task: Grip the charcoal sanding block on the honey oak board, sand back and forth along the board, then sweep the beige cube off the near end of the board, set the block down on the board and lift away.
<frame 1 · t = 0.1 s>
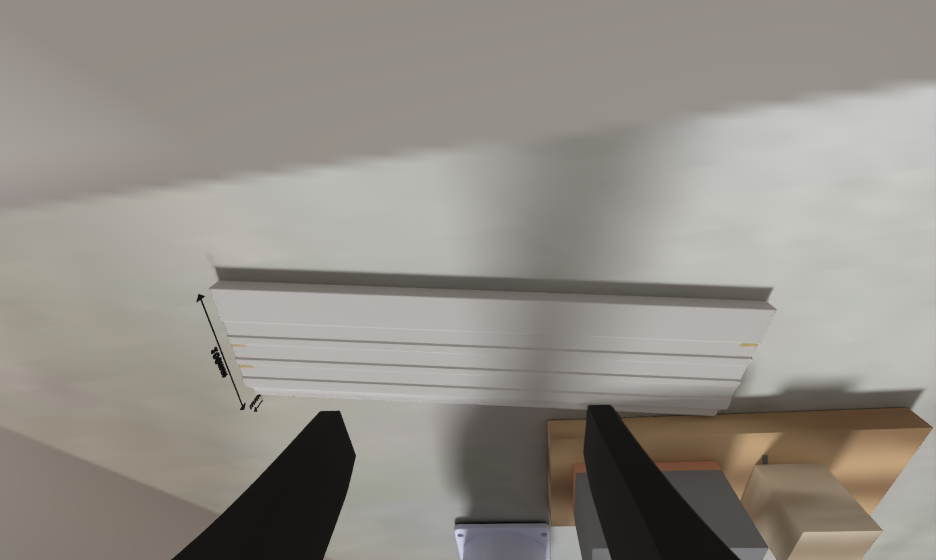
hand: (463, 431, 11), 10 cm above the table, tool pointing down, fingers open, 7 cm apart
baseboard: (481, 351, 23), on the table
beige cube: (779, 482, 24), point 2 cm above the table, touching board
board: (704, 463, 26), on the table
sanding block: (639, 485, 25), point 2 cm above the table, touching board
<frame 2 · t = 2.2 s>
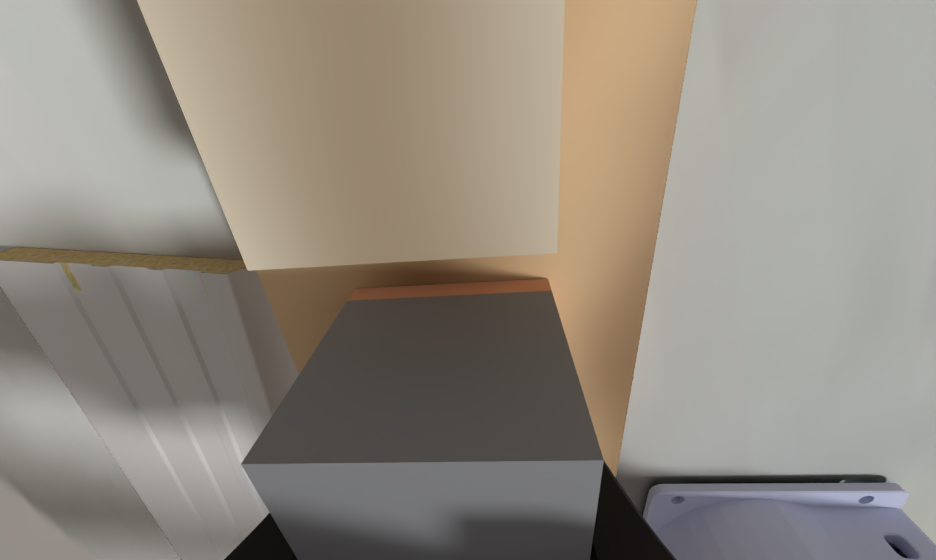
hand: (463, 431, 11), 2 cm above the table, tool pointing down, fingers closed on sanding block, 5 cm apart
baseboard: (283, 511, 19), on the table
beige cube: (424, 85, 7), point 2 cm above the table, touching board
board: (452, 242, 10), on the table
sanding block: (465, 408, 11), point 2 cm above the table, touching board, gripper
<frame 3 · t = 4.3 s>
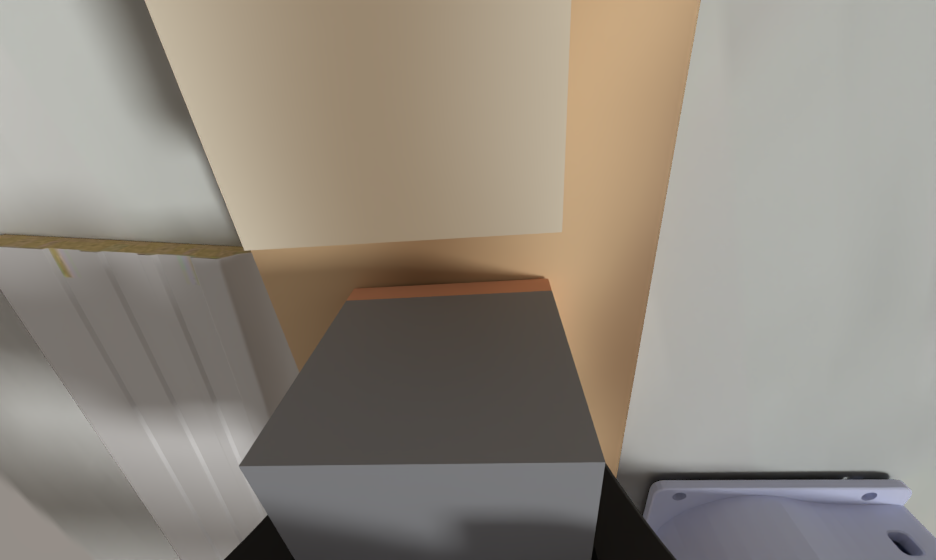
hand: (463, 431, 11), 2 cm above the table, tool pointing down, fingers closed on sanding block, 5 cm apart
baseboard: (280, 506, 19), on the table
beige cube: (425, 69, 7), point 2 cm above the table, touching board
board: (453, 233, 10), on the table
sanding block: (464, 408, 11), point 2 cm above the table, touching gripper
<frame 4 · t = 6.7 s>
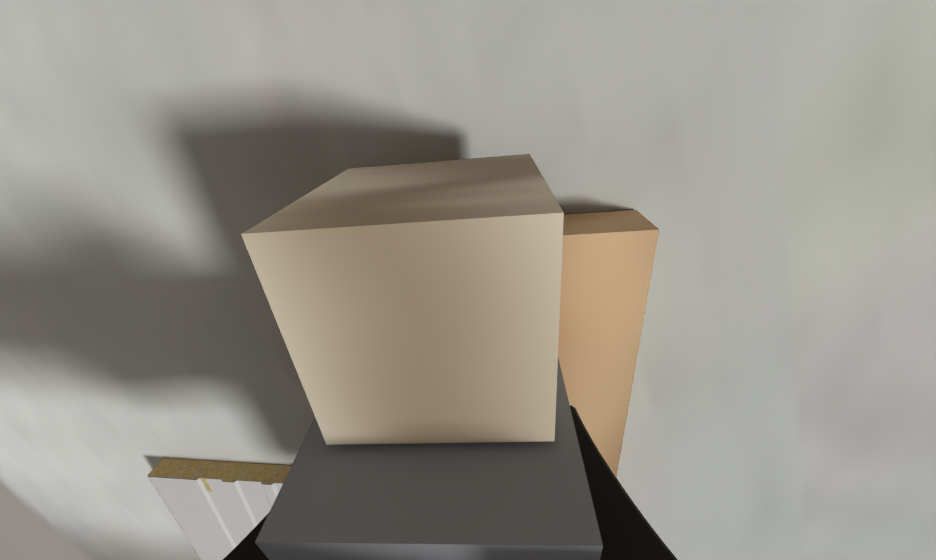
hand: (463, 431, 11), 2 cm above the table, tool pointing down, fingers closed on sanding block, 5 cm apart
beige cube: (447, 245, 9), point 2 cm above the table, touching sanding block
board: (478, 470, 15), on the table
sanding block: (467, 434, 12), point 2 cm above the table, touching gripper, beige cube
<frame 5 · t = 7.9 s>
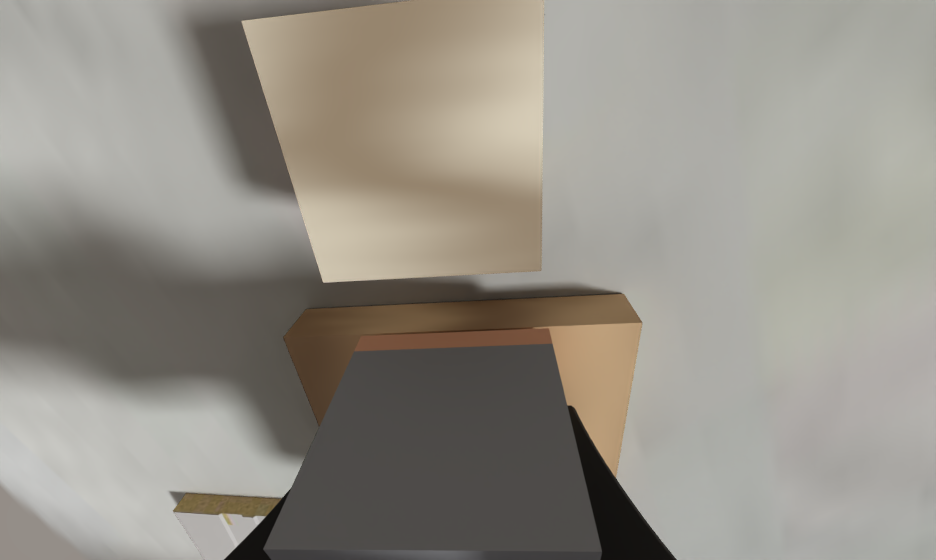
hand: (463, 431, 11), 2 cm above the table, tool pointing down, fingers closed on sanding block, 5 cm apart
beige cube: (442, 236, 8), point 2 cm above the table, tilted 90°
board: (482, 506, 17), on the table
sanding block: (467, 440, 12), point 2 cm above the table, touching board, gripper
when the fingers open (2 cm above the table, at t = 9.4 s): sanding block stays where it is, resting on board.
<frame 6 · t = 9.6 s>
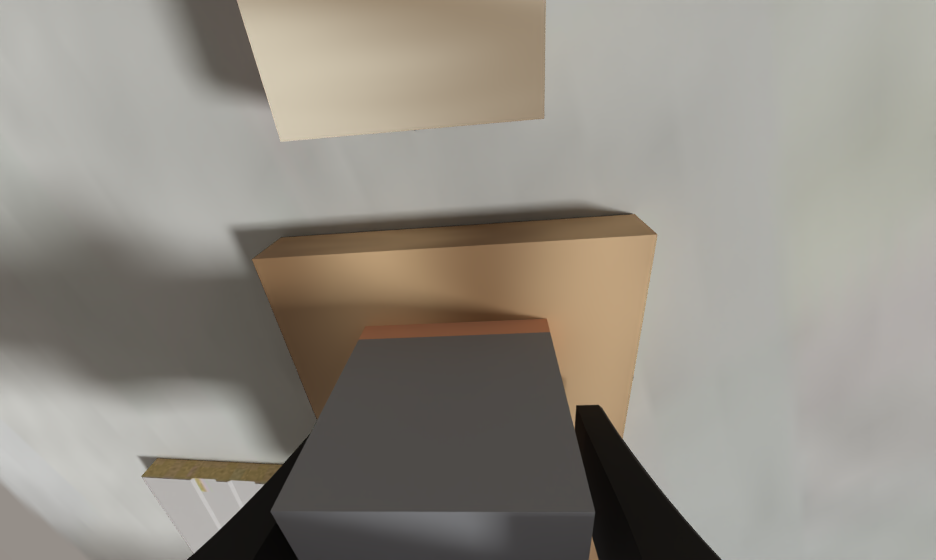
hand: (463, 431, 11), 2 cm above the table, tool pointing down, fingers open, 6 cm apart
beige cube: (427, 118, 7), point 2 cm above the table, tilted 90°
board: (478, 472, 15), on the table
sanding block: (468, 434, 12), point 2 cm above the table, touching board
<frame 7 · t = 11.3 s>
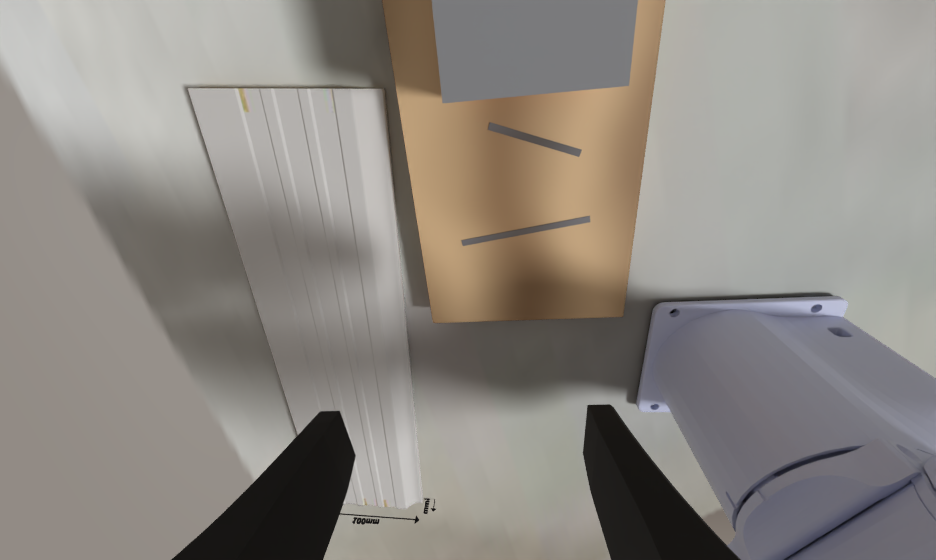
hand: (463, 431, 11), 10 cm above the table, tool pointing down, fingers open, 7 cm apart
baseboard: (359, 347, 24), on the table
board: (519, 86, 16), on the table
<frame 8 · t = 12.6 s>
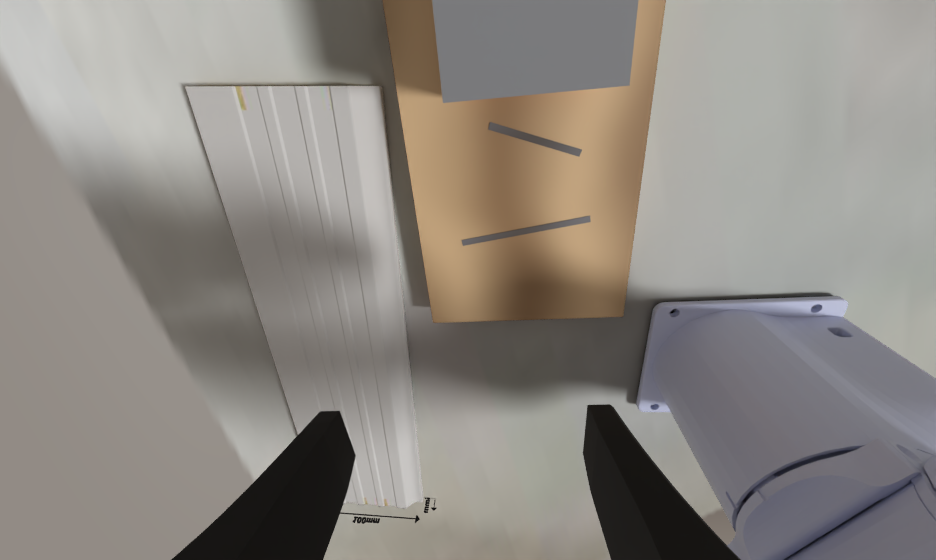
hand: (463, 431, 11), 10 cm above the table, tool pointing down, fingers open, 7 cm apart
baseboard: (358, 345, 24), on the table
board: (520, 86, 16), on the table
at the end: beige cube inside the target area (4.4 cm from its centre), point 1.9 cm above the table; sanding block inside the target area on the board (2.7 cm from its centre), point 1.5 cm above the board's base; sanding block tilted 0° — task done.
